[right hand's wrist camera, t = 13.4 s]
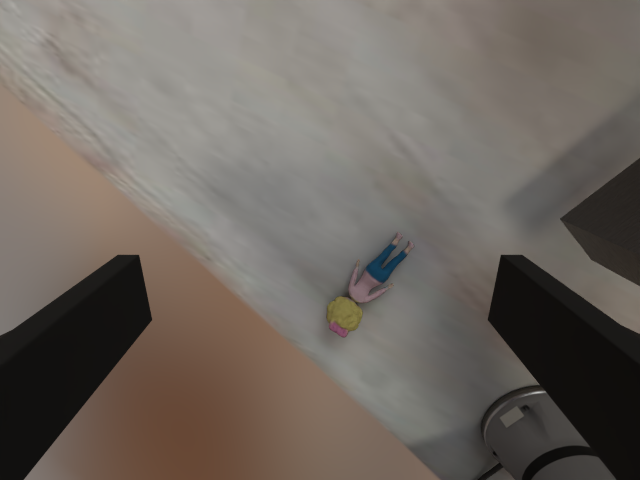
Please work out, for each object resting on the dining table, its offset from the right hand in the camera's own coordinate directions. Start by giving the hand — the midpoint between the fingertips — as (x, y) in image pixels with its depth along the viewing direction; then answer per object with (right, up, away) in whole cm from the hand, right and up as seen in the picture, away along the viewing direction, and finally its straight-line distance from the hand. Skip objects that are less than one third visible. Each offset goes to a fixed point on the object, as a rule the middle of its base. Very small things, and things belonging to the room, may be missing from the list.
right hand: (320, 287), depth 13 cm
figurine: (+6, -3, +33) cm, 34 cm away
